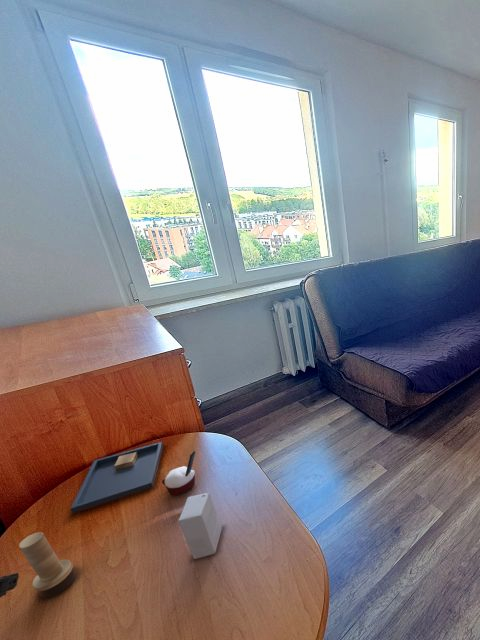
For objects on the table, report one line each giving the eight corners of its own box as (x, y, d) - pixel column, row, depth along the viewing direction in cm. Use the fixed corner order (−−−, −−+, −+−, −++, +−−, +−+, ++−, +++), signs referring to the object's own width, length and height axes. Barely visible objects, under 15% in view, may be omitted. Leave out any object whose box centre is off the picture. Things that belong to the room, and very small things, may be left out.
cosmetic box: (201, 534, 76) (187, 496, 72) (222, 529, 77) (210, 491, 73) (192, 560, 71) (177, 521, 66) (215, 554, 72) (201, 515, 67)
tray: (73, 515, 80) (70, 508, 80) (96, 466, 95) (94, 460, 94) (153, 489, 88) (151, 482, 87) (164, 447, 102) (162, 441, 101)
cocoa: (160, 493, 86) (146, 458, 82) (184, 475, 92) (172, 441, 87) (186, 505, 83) (172, 468, 79) (209, 485, 89) (197, 450, 84)
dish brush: (36, 605, 63) (4, 559, 58) (44, 581, 67) (15, 536, 62) (74, 587, 66) (47, 542, 61) (79, 565, 70) (54, 521, 65)
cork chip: (115, 470, 92) (114, 466, 92) (120, 460, 96) (119, 456, 95) (133, 465, 94) (132, 461, 94) (138, 455, 97) (136, 451, 97)
